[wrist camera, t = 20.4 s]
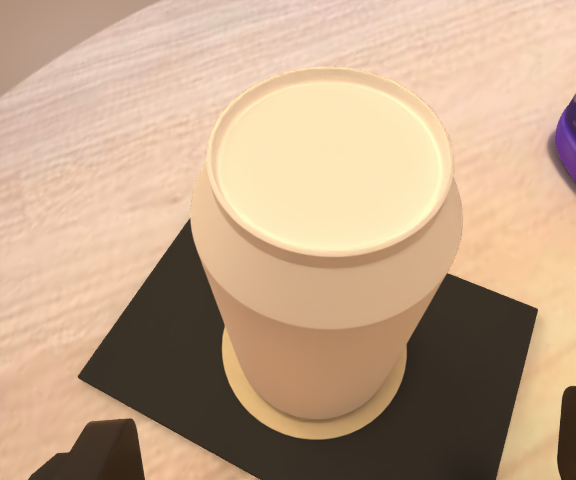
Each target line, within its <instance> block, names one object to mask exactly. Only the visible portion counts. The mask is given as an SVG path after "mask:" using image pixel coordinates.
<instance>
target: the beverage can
mask: <svg viewBox="0 0 576 480" xmlns="http://www.w3.org/2000/svg"><path fill="white" fill-rule="evenodd" d="M453 174H454V155H453V149H452V145H451V141H450V138H449V136H448V133H447V131H446V129H445V127H444V125H443V124H442V122H441V121H440V119H439V118H438V116H437V115H436V114H435V113H434V111H433V110H432V109H431V108H430V107H429V106H428V105H427V104H426V103H425V102H424V101H423V100H422V99H420V98H419V97H418V96H417V95H415V94H414V93H413V92H411V91H410V90H408V89H407V88H405V87H403V86H401V85H400V84H398V83H396V82H394V81H392V80H389V79H387V78H384V77H382V76H379V75H376V74H373V73H369V72H366V71H361V70H356V69H350V68H342V67H313V68H304V69H298V70H293V71H289V72H285V73H282V74H279V75H276V76H273V77H271V78H268V79H266V80H264V81H262V82H260V83H258V84H256V85H254V86H252V87H251V88H249V89H248V90H246V91H245V92H243V93H242V94H241V95H239V96H238V97H237V98H236V99H235V100H234V101H233V102H232V103H231V104H230V105H229V106H228V107H227V108H226V109H225V110H224V112H223V113H222V114H221V116H220V117H219V119H218V120H217V122H216V124H215V126H214V128H213V130H212V133H211V135H210V138H209V142H208V147H207V155H206V162H205V164H204V166H203V168H202V170H201V172H200V174H199V176H198V178H197V181H196V184H195V187H194V190H193V195H192V200H191V209H190V220H191V229H192V234H193V239H194V242H195V245H196V248H197V251H198V254H199V257H200V259H201V262H202V265H203V268H204V270H205V273H206V276H207V278H208V281H209V284H210V286H211V289H212V292H213V294H214V297H215V300H216V303H217V305H218V308H219V311H220V313H221V316H222V319H223V321H224V324H225V327H226V329H227V332H228V335H229V337H230V340H231V343H232V345H233V348H234V351H235V353H236V356H237V358H238V361H239V363H240V366H241V368H242V370H243V372H244V374H245V376H246V378H247V380H248V382H249V383H250V385H251V386H252V387H253V389H254V390H255V391H256V392H257V393H258V394H259V395H260V396H261V397H262V398H263V399H264V400H265V401H266V402H268V403H269V404H270V405H272V406H273V407H275V408H277V409H278V410H280V411H282V412H285V413H287V414H290V415H292V416H296V417H300V418H306V419H328V418H334V417H338V416H341V415H344V414H347V413H349V412H351V411H353V410H355V409H357V408H358V407H360V406H362V405H363V404H364V403H366V402H367V401H368V400H369V399H370V398H371V397H372V396H373V395H374V394H375V393H376V392H377V391H378V390H379V388H380V387H381V386H382V384H383V383H384V381H385V380H386V378H387V377H388V375H389V373H390V372H391V370H392V368H393V366H394V365H395V363H396V361H397V360H398V358H399V356H400V354H401V353H402V351H403V349H404V347H405V346H406V344H407V342H408V340H409V339H410V337H411V335H412V333H413V332H414V330H415V328H416V327H417V325H418V323H419V321H420V320H421V318H422V316H423V314H424V313H425V311H426V309H427V307H428V306H429V304H430V302H431V300H432V299H433V297H434V295H435V293H436V291H437V290H438V288H439V286H440V284H441V283H442V281H443V279H444V277H445V276H446V274H447V272H448V270H449V269H450V267H451V265H452V263H453V261H454V258H455V256H456V254H457V251H458V248H459V245H460V240H461V236H462V228H463V212H462V203H461V198H460V195H459V191H458V188H457V185H456V182H455V180H454V177H453Z"/></svg>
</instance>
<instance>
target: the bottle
mask: <svg viewBox="0 0 576 480" xmlns="http://www.w3.org/2000/svg"><path fill="white" fill-rule="evenodd" d="M555 143H556V148H557V151H558V154H559V156H560V159H561V161H562V163H563V164H564V166H565V168H566V169H567V171H568V172H569V174H570V175H571V176H572V178H573V179H574V180H575V181H576V94H575V96H574V97H573V99H572V100H571V102H570V103H569V105H568V106H567V107H566V109H565V110H564V112H563V113H562V115H561V117H560V119H559V122H558V125H557V129H556V135H555Z"/></svg>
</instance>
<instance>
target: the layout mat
mask: <svg viewBox="0 0 576 480" xmlns="http://www.w3.org/2000/svg"><path fill="white" fill-rule="evenodd" d="M537 312H538V309H537V308H534V307H532V306H529V305H527V304H524V303H522V302H519V301H516V300H514V299H511V298H509V297H506V296H504V295H501V294H499V293H496V292H494V291H491V290H489V289H486V288H484V287H481V286H479V285H476V284H473V283H471V282H468V281H466V280H463V279H461V278H458V277H456V276H453V275H451V274H448V273H447V274H446V276H445V277H444V279H443V281H442V283H441V284H440V286H439V288H438V290H437V291H436V293H435V295H434V297H433V299H432V300H431V302H430V304H429V306H428V307H427V309H426V311H425V313H424V314H423V316H422V318H421V320H420V321H419V323H418V325H417V327H416V328H415V330H414V332H413V333H412V335H411V337H410V339H409V340H408V342H407V344H406V346H405V347H404V349H403V351H402V353H401V354H400V356H399V358H398V360H397V361H396V363H395V365H394V366H393V368H392V370H391V372H390V373H389V375H388V377H387V378H386V380H385V381H384V383H383V384H382V386H381V387H380V388H379V390H378V391H377V392H376V393H375V394H374V395H373V396H372V397H371V398H370V399H369V400H368V401H367V402H366V403H364V404H363V405H362V406H360V407H358V408H357V409H355V410H353V411H351V412H349V413H347V414H344V415H341V416H338V417H334V418H328V419H306V418H300V417H296V416H292V415H290V414H287V413H285V412H282V411H280V410H278V409H277V408H275V407H273V406H272V405H270V404H269V403H268V402H266V401H265V400H264V399H263V398H262V397H261V396H260V395H259V394H258V393H257V392H256V391H255V390H254V389H253V387H252V386H251V385H250V383H249V382H248V380H247V378H246V376H245V374H244V372H243V370H242V368H241V366H240V363H239V361H238V358H237V356H236V353H235V351H234V348H233V345H232V343H231V340H230V337H229V335H228V332H227V329H226V327H225V324H224V321H223V319H222V316H221V313H220V311H219V308H218V305H217V303H216V300H215V297H214V294H213V292H212V289H211V286H210V284H209V281H208V278H207V276H206V273H205V270H204V268H203V265H202V262H201V259H200V257H199V254H198V251H197V248H196V245H195V242H194V239H193V234H192V229H191V220H190V219H189V220H188V222H187V223H186V224H185V226H184V227H183V229H182V230H181V231H180V233H179V234H178V236H177V237H176V238H175V240H174V241H173V243H172V244H171V246H170V247H169V248H168V250H167V251H166V253H165V254H164V255H163V257H162V258H161V260H160V261H159V262H158V264H157V265H156V267H155V268H154V269H153V271H152V272H151V274H150V275H149V277H148V278H147V279H146V281H145V282H144V284H143V285H142V286H141V288H140V289H139V291H138V292H137V293H136V295H135V296H134V298H133V299H132V301H131V302H130V303H129V305H128V306H127V308H126V309H125V310H124V312H123V313H122V315H121V316H120V317H119V319H118V320H117V322H116V323H115V324H114V326H113V327H112V329H111V330H110V332H109V333H108V334H107V336H106V337H105V339H104V340H103V341H102V343H101V344H100V346H99V347H98V348H97V350H96V351H95V353H94V354H93V356H92V357H91V358H90V360H89V361H88V363H87V364H86V365H85V367H84V368H83V370H82V371H81V372H80V374H79V375H78V378H79V379H81V380H83V381H84V382H86V383H88V384H90V385H92V386H93V387H95V388H97V389H99V390H101V391H102V392H104V393H106V394H108V395H110V396H111V397H113V398H115V399H117V400H119V401H120V402H122V403H124V404H126V405H127V406H129V407H131V408H133V409H135V410H136V411H138V412H140V413H142V414H144V415H145V416H147V417H149V418H151V419H153V420H154V421H156V422H158V423H160V424H162V425H163V426H165V427H167V428H169V429H171V430H172V431H174V432H176V433H178V434H180V435H181V436H183V437H185V438H187V439H189V440H190V441H192V442H194V443H196V444H198V445H199V446H201V447H203V448H205V449H207V450H208V451H210V452H212V453H214V454H216V455H217V456H219V457H221V458H223V459H225V460H226V461H228V462H230V463H232V464H233V465H235V466H237V467H239V468H241V469H242V470H244V471H246V472H248V473H250V474H251V475H253V476H255V477H257V478H259V479H260V480H496V476H497V472H498V468H499V464H500V460H501V456H502V452H503V448H504V444H505V440H506V436H507V432H508V428H509V424H510V420H511V416H512V412H513V408H514V404H515V400H516V396H517V392H518V388H519V384H520V380H521V376H522V372H523V368H524V364H525V360H526V356H527V352H528V348H529V344H530V340H531V336H532V332H533V328H534V324H535V320H536V316H537Z"/></svg>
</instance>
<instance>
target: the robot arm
mask: <svg viewBox="0 0 576 480" xmlns="http://www.w3.org/2000/svg"><path fill="white" fill-rule="evenodd" d="M557 462H558V469H559V473H560V477H561V480H576V386H569V387H568V388H566V389H565V391H564V393H563V397H562V406H561V418H560V430H559V442H558V455H557ZM28 480H145V477H144V471H143V465H142V459H141V452H140V446H139V440H138V434H137V428H136V425H135V422H134V421H133V419H117V420H104V421H91V422H89V423H88V424H87V425H86V426H85V428H84V429H83V431H82V433H81V434H80V436H79V438H78V439H77V441H76V443H75V444H74V446H73V447H72V449H71V451H70V452H68V453H57V454H56V455H55V456H53V457H52V458H51V459H50V460H49V461H47V462H46V463H45V464H44V465H43V466H42V467H40V468H39V469H38V470H37V471H36V472H34V473H33V474H32V475H31V476H30V478H29V479H28Z"/></svg>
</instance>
